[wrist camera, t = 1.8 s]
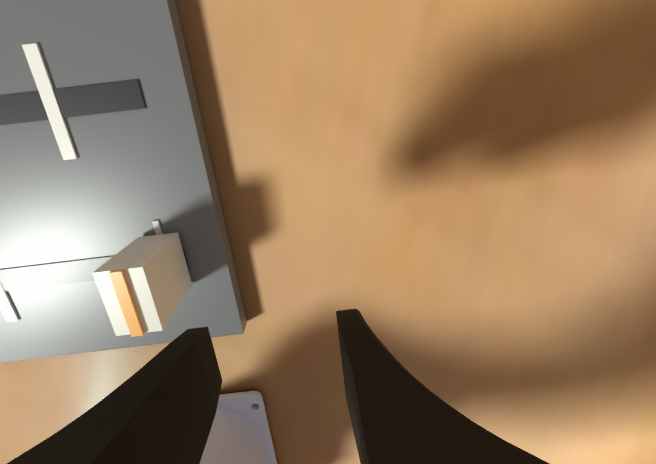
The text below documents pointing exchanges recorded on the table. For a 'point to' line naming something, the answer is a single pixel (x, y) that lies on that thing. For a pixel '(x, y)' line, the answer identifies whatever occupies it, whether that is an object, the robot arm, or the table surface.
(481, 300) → the table surface
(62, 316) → the console
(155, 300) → the fader
